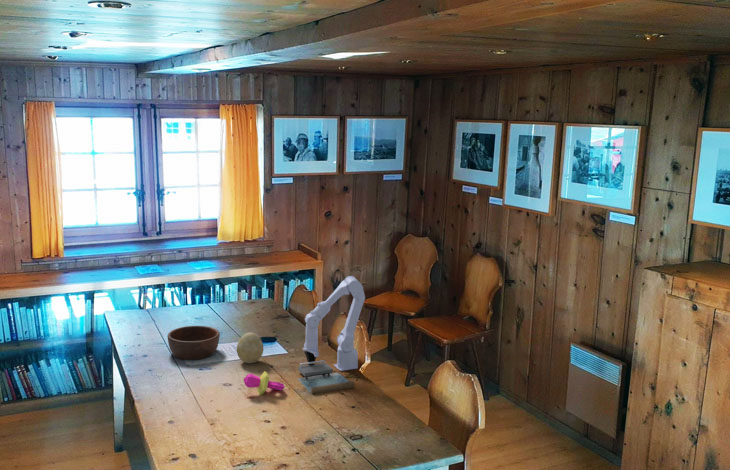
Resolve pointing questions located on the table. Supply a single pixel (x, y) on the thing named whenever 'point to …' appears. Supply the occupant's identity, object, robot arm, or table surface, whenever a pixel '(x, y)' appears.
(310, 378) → the dock bay
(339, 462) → the table surface
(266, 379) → the toy
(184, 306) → the table surface
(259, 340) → the fossilized egg
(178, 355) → the wooden bowl
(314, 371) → the cabinet door with handle
